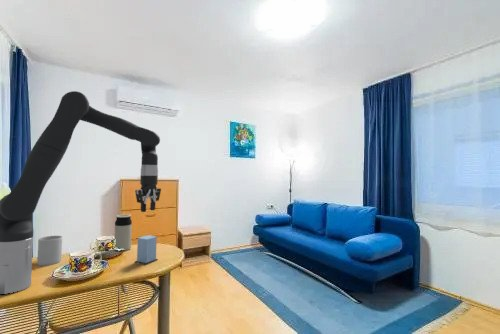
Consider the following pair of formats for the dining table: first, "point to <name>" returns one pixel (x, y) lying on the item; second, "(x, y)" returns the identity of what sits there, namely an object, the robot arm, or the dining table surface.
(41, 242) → the mug
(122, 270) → the dining table surface
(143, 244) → the blue rectangular block
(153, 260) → the post
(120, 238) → the travel mug
